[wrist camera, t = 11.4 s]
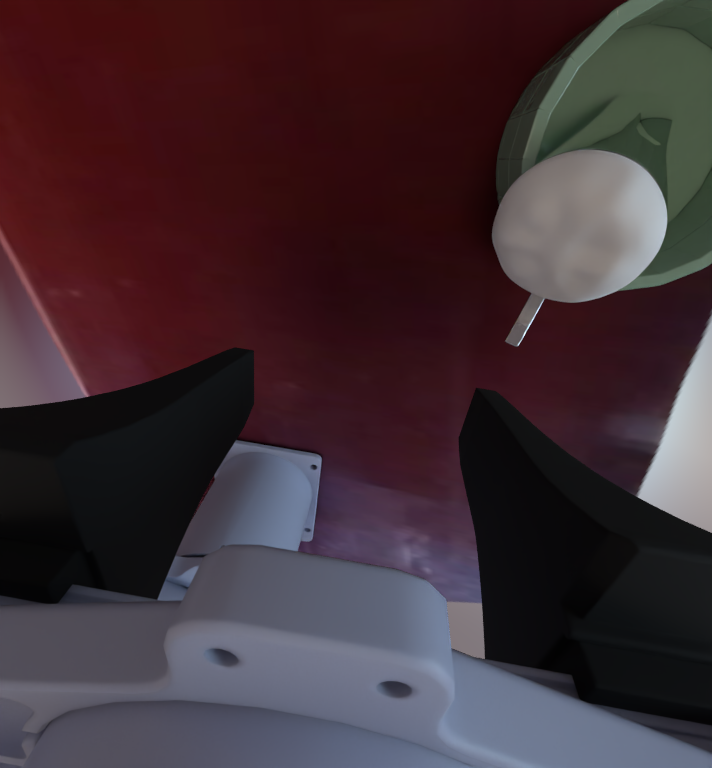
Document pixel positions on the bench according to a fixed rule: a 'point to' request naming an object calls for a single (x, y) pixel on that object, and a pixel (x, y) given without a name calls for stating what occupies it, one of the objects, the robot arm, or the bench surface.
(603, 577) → the robot arm
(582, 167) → the milkshake cup
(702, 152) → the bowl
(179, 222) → the bench surface
